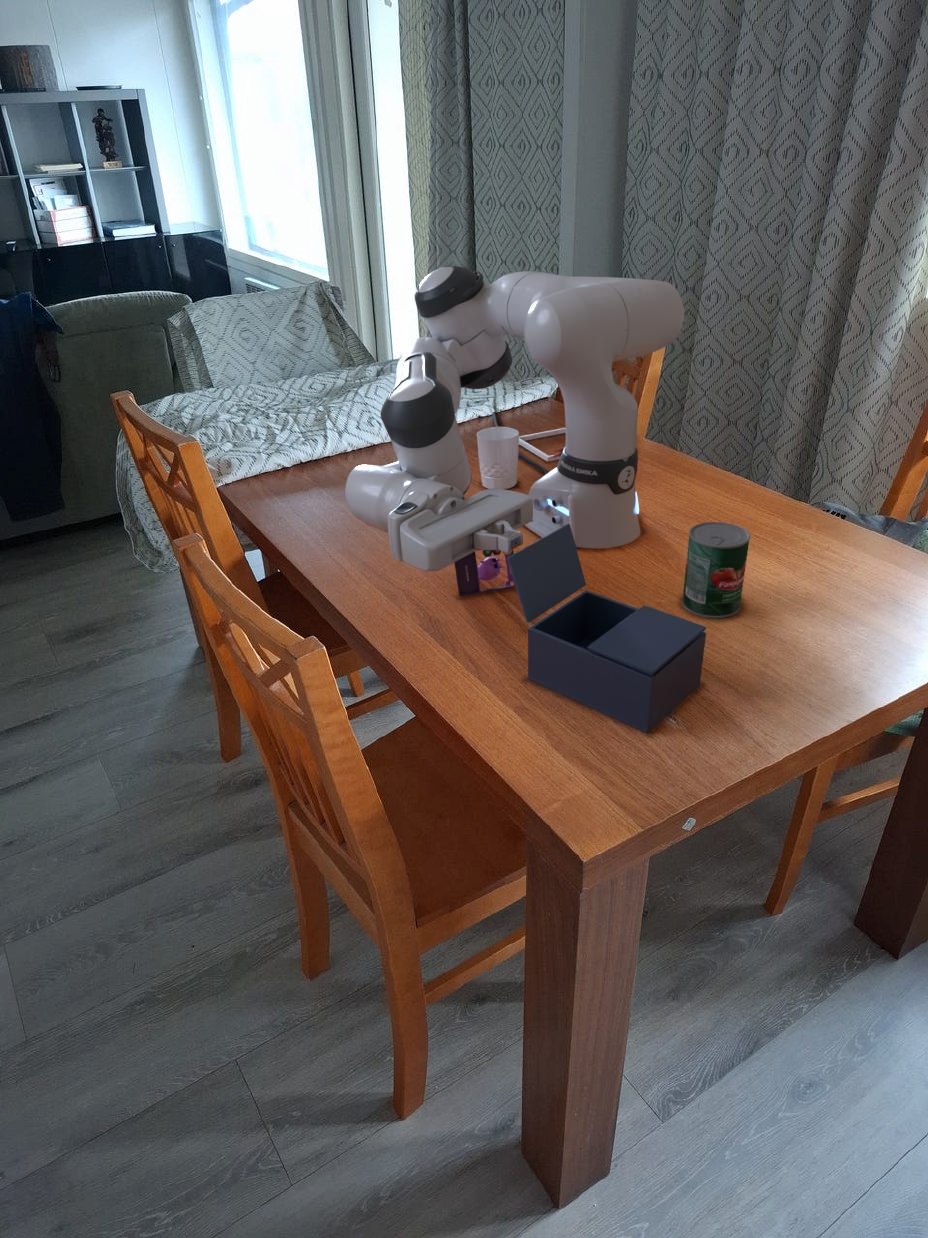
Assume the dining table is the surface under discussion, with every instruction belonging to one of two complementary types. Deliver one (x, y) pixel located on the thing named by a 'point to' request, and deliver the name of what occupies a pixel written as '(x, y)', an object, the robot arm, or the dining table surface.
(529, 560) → the flap
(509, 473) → the white cup
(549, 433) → the photo frame
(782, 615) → the dining table surface
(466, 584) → the game card
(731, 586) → the canned tomato
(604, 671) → the carton
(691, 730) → the dining table surface
